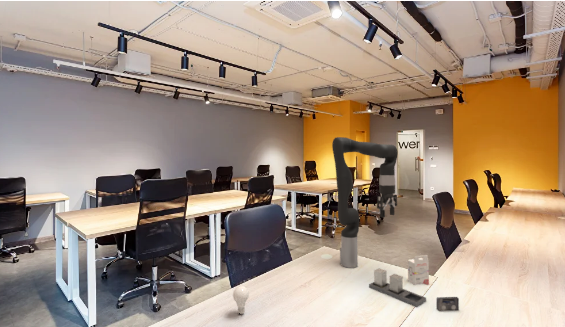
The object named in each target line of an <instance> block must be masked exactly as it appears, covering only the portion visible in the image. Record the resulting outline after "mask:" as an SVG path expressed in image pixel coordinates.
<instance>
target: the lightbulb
mask: <svg viewBox="0 0 565 327" xmlns="http://www.w3.org/2000/svg"><path fill="white" fill-rule="evenodd" d="M249 296H250V292H249V289H248V288H247V287H246V286H244V285H238V286H237V287H236V288H234V290H233V293H232V298H233V300H234V302H235V303H236V306H237V314H239V313H240V314H239V315H243V314H244V313H245V306H246V302H248V299H249Z"/></svg>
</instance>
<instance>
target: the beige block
mask: <svg viewBox="0 0 565 327" xmlns="http://www.w3.org/2000/svg"><path fill="white" fill-rule="evenodd" d="M388 280H389V282H388V283H389V284H390V292H393V293H395V294H398V295H399V294H401V293H402V292H403V289H404V288H403V287H404V286H403V276H402V275H398V274H396V273H393V274H391V275H389V279H388Z"/></svg>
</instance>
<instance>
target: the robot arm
mask: <svg viewBox="0 0 565 327" xmlns="http://www.w3.org/2000/svg"><path fill="white" fill-rule="evenodd" d="M331 143H332V144H331V148H332V153H333V160H334V166H335V175H336V176H335V178H336V188H337V190H336V191H337V219H338V221H339V223H340V225H342V226H345V227H344V228H343V229H342V230H341V232H340V233H341V235H340V238H341V241H340V242H341V244H340V248H339V264H340V265H341V266H342V267H344V268H349V269H352V268H353V269H354V268H357V267H358V265H359V263H358V262H359V259H358V252H359V251H358V234H359V230H360V215H359V211H358V210H357V209H356V208H355V207H348V205H349V204H348V201H349V197H350V194H351V193H352V190H353V186H354V183H353V180H354V179H353V175H352V171H351V170H350V167H349V166H348V164H347V163H346V159H345V155H344V154H347V153H359V154H360V155H364V156H368V157H369V156H371V157H375V158H377V159H384V162H382V163H380V165H379V179H378V180H379V185H378V186H379V188H378V189H379V191H378V192H379V193H380V194H381V196H377V198H376V208H377V209H378V210H379V216H380V218H385V217H386V207H388V205H389V215H391V216H395V208H396V207H398V194H396V176H395V173H396V172H395V171H396V170H395V168H396V167H395V166H396V164H397V160H398V148H397V146H395V145H394V144H384V143H383V144H381V143H375V142H370V141H357V140H354V139H352V138H348V137H339V136H337V137H334V139H333V140H332V142H331Z"/></svg>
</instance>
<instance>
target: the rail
mask: <svg viewBox="0 0 565 327" xmlns="http://www.w3.org/2000/svg"><path fill="white" fill-rule="evenodd" d="M368 288H370V289H372V290H374V291H377V292H379V293H381V294H384V295H385V296H388V297H391V298H393V299H396V300H399V301H401V302H403V303H405V304H408V305H410V306H412V307H415V308H418V307H420V306H422V305H423V304H424V303H426V302H427V297H426V296H424V295H419V294H417V293H415V292H412V291H409V290H407V289H405V288H403V292H402V293H401V294H399V295H398V294H395V293H393V292H390V283H389V282H387V286H385V287H383V288H380V287H378V286H375V285H374V281H373V282H371V283H369V284H368Z"/></svg>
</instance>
